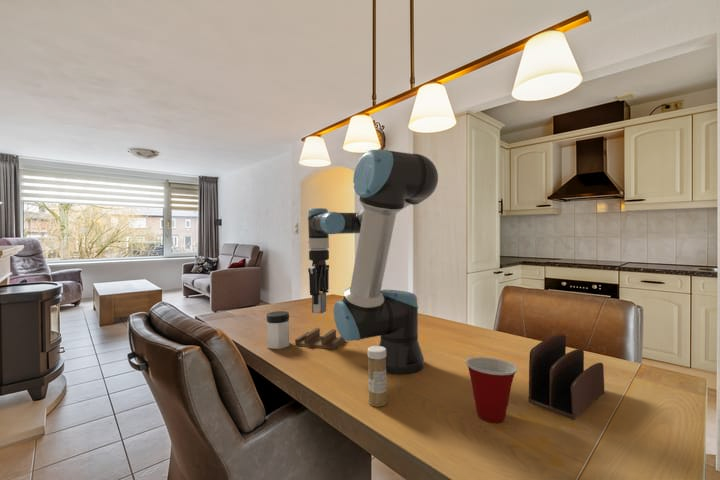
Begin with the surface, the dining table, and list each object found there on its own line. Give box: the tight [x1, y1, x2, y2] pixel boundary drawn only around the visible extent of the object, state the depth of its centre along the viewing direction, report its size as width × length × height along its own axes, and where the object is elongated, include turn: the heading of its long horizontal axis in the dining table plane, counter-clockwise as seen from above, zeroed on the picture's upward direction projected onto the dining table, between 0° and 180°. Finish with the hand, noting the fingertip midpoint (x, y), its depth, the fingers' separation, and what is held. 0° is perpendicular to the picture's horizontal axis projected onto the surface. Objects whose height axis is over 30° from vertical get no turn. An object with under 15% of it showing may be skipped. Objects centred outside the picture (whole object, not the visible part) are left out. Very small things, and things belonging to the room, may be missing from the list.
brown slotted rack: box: [294, 327, 346, 350], centre depth 128 cm, size 16×10×4 cm, turn 71°
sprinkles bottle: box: [367, 345, 387, 407], centre depth 82 cm, size 5×5×13 cm
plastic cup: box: [465, 356, 518, 424], centre depth 76 cm, size 11×11×12 cm
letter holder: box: [528, 333, 605, 421], centre depth 83 cm, size 10×20×14 cm, turn 128°
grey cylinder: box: [311, 291, 327, 314], centre depth 128 cm, size 4×4×8 cm
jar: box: [266, 310, 290, 350], centre depth 126 cm, size 9×8×12 cm
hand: (319, 311), depth 128 cm, fingers closed on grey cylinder, 4 cm apart
